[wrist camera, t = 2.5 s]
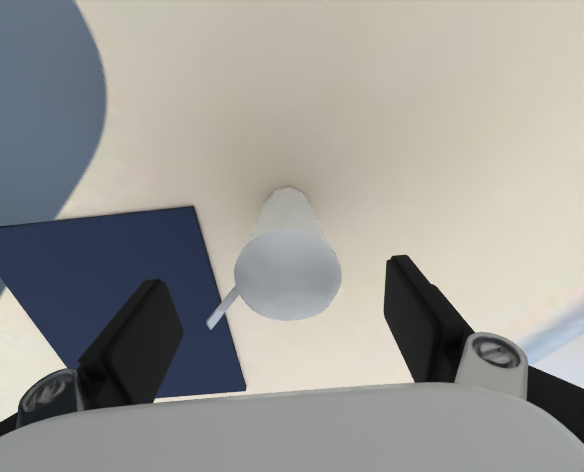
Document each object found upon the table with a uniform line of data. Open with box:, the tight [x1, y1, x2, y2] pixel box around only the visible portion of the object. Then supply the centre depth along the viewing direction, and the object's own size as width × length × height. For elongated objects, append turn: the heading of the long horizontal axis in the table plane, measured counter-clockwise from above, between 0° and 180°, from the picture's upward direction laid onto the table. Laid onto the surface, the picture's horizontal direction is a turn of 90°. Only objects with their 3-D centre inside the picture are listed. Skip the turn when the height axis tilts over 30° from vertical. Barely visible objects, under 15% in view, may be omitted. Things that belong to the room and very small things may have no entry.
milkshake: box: [206, 187, 341, 330], centre depth 14 cm, size 4×5×10 cm
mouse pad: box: [0, 206, 246, 398], centre depth 23 cm, size 20×16×1 cm
